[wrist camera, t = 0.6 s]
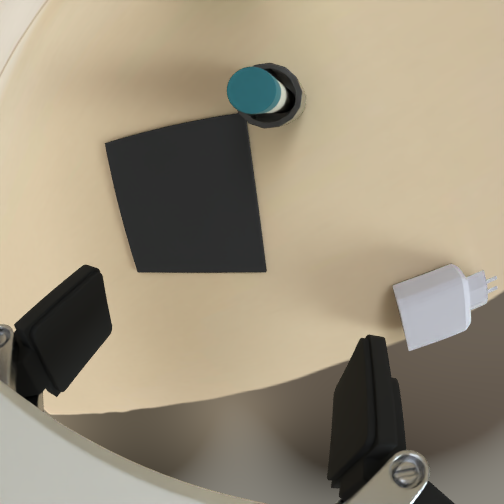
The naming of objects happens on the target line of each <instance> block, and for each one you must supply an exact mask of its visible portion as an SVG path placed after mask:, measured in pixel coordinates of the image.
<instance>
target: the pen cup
mask: <svg viewBox="0 0 504 504" xmlns="http://www.w3.org/2000/svg"><path fill="white" fill-rule="evenodd" d="M253 67H258V68H261V69H264V70H265V71H267V72H268V73H270V74H271V75H272V76H274V77H275V78H276V79H277V80H278V81H279V82H280V83H282V84H283V85H284V86H286V87H287V88H288V89H289V90H290V91H291V92H292V94H293V97H294V101H293V105H292V107H291V108H290V109H289V110H288V111H286V112H284V113H262V114H247V113H243V112H241V111H239V110H237V111H238V113H239V114H240V115H241V116H242V117H243V118H244V119H245V120H246V121H247V122H248V123H250V124H252V125H255V126H258V127H261V128H272V127H280V126H283V125H287V124H289V123H291V122H293V121H295V120H296V119H298V118H299V117H300V115H301V114H302V113H303V111H304V109H305V105H306V94H305V91H304V89H303V87H302V85H301V83H300V82H299V80H298V79H297V77H296V76H295V75H294V74H292V73H291V72H290V71H289V70H288V69H287V68H285V67H283V66H280V65H276V64H273V63H265V64H258V65H254V66H253Z"/></svg>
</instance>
